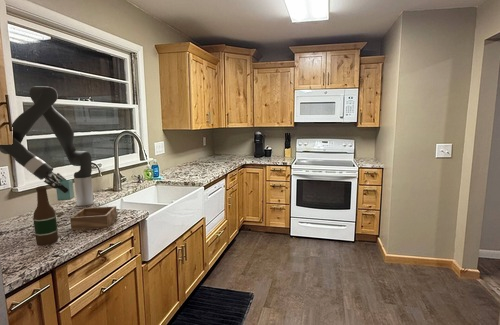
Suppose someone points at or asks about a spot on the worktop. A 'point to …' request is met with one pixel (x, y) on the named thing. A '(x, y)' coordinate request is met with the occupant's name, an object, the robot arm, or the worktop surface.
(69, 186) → the teal rectangular block
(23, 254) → the worktop surface
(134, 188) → the worktop surface
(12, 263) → the worktop surface
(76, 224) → the walnut crate
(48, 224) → the beer bottle
